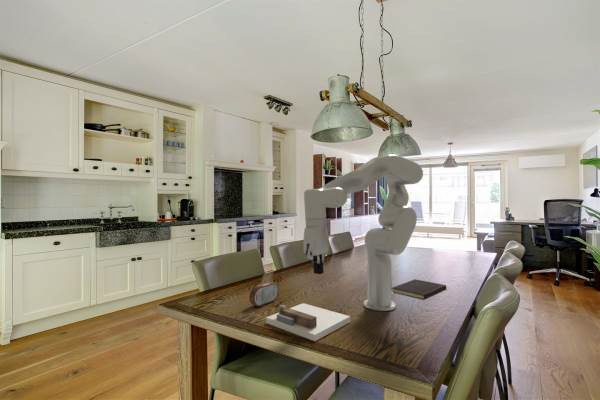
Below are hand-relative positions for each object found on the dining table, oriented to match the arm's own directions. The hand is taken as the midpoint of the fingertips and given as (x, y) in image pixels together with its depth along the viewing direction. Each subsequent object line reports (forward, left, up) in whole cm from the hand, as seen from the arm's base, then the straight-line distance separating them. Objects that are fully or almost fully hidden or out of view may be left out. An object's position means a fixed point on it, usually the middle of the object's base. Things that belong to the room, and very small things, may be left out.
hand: (318, 273), depth 114 cm
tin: (+1, -28, -17) cm, 33 cm away
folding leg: (+11, -1, -15) cm, 18 cm away
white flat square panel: (+5, -1, -17) cm, 17 cm away
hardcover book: (-60, +14, -18) cm, 64 cm away
